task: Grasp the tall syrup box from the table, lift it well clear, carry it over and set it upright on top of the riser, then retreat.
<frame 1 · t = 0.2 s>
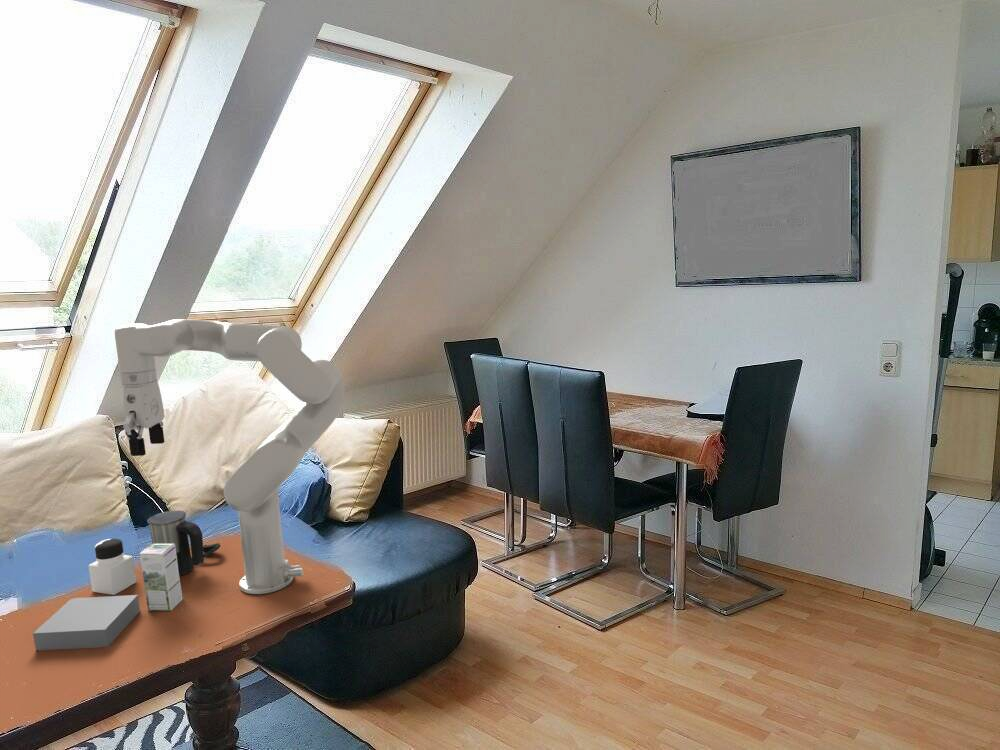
hand: (148, 449, 173), 36 cm above the table, tool pointing down, fingers open, 9 cm apart
medicine bottle: (115, 587, 182), on the table
milk frother: (189, 565, 193), on the table
riser: (90, 629, 162), on the table
syrup box: (165, 606, 172), on the table
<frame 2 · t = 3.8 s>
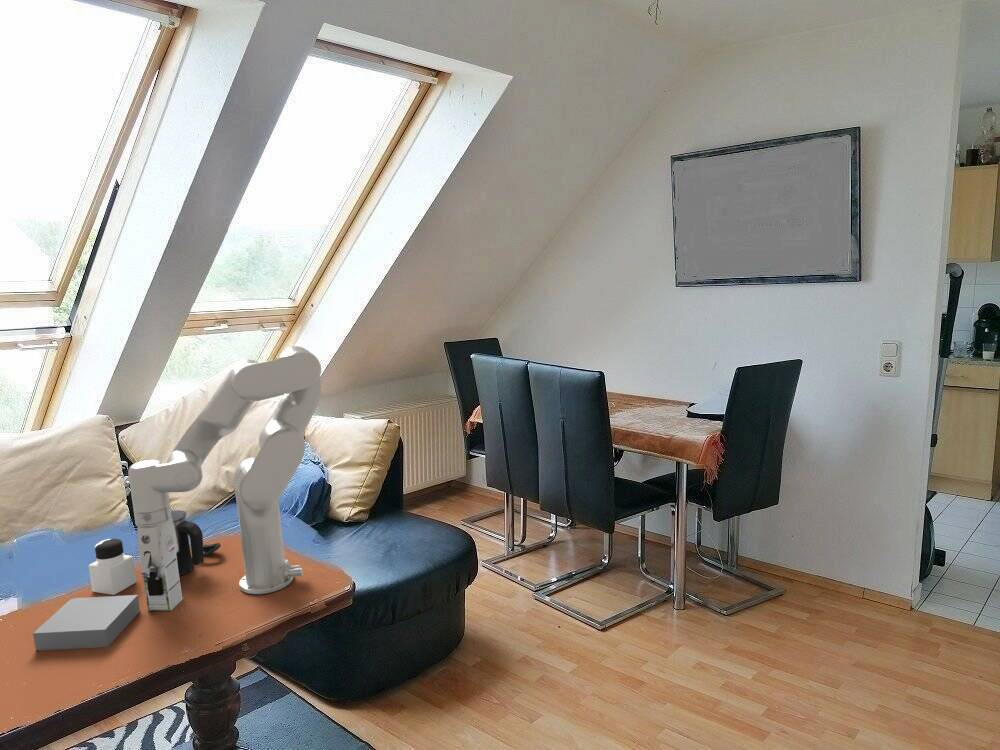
hand: (163, 587, 171), 5 cm above the table, tool pointing down, fingers closed on syrup box, 6 cm apart
syrup box: (165, 606, 172), on the table, touching gripper
everything else where it was.
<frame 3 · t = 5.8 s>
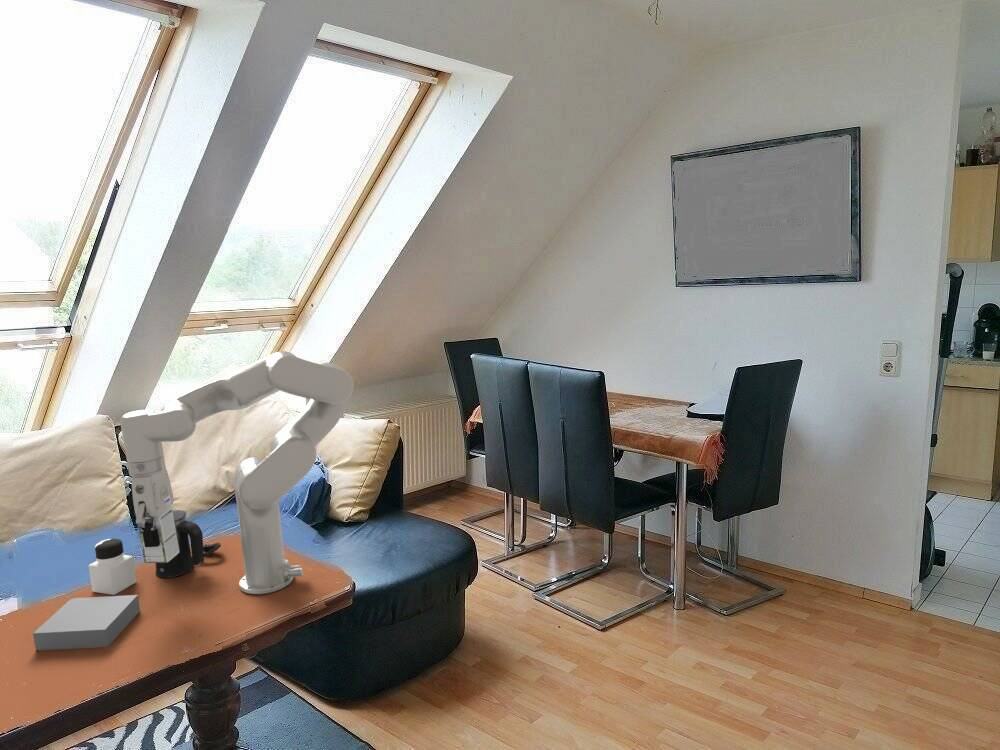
hand: (159, 539, 169), 16 cm above the table, tool pointing down, fingers closed on syrup box, 6 cm apart
syrup box: (162, 558, 170), point 11 cm above the table, touching gripper
everything else where it was.
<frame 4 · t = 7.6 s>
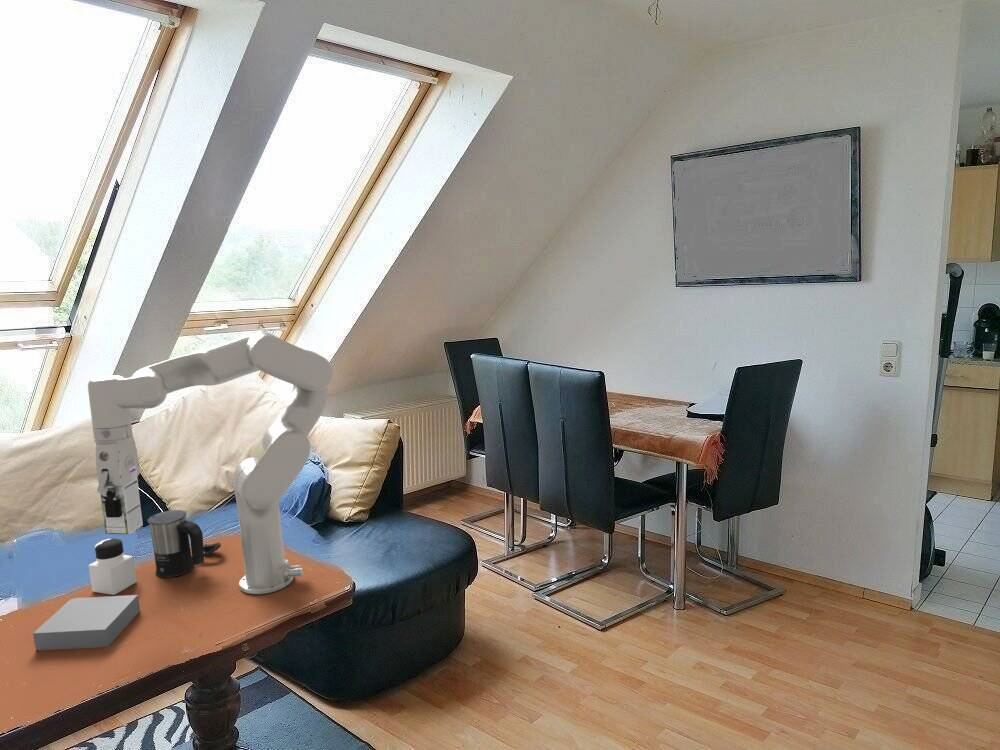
hand: (122, 510, 163), 25 cm above the table, tool pointing down, fingers closed on syrup box, 6 cm apart
syrup box: (124, 531, 164), point 20 cm above the table, touching gripper
everything else where it was.
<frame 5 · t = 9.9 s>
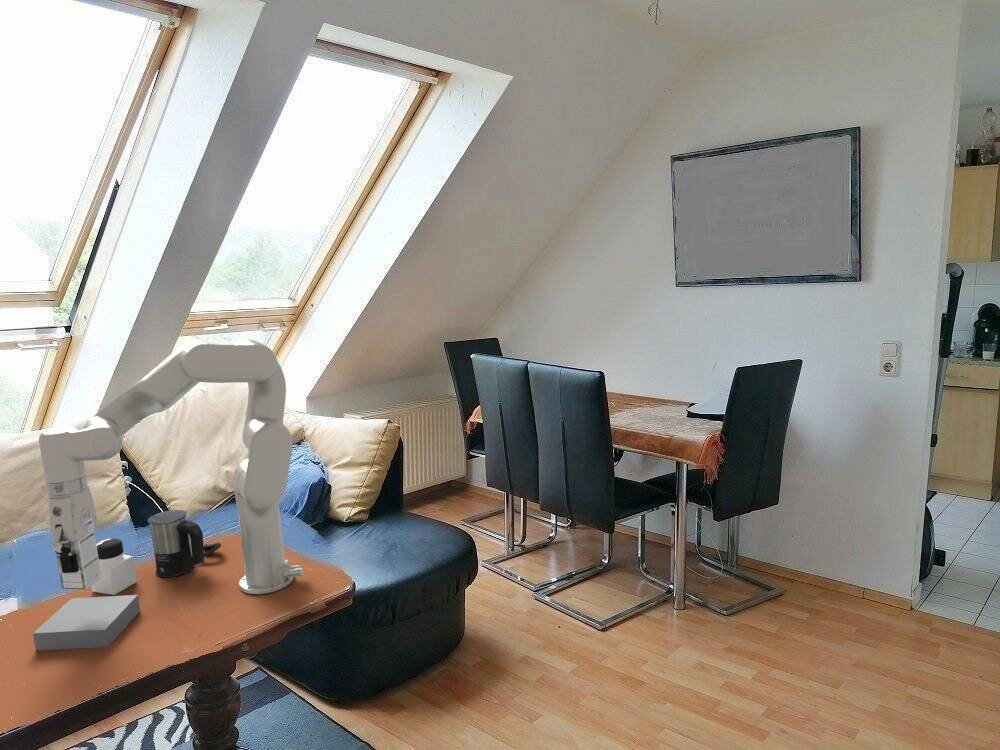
hand: (79, 564, 159), 16 cm above the table, tool pointing down, fingers closed on syrup box, 6 cm apart
syrup box: (82, 584, 160), point 11 cm above the table, touching gripper
everything else where it was.
when the fingers open (10 cm above the table, at t = 11.9 s): syrup box drops 1 cm, resting on riser.
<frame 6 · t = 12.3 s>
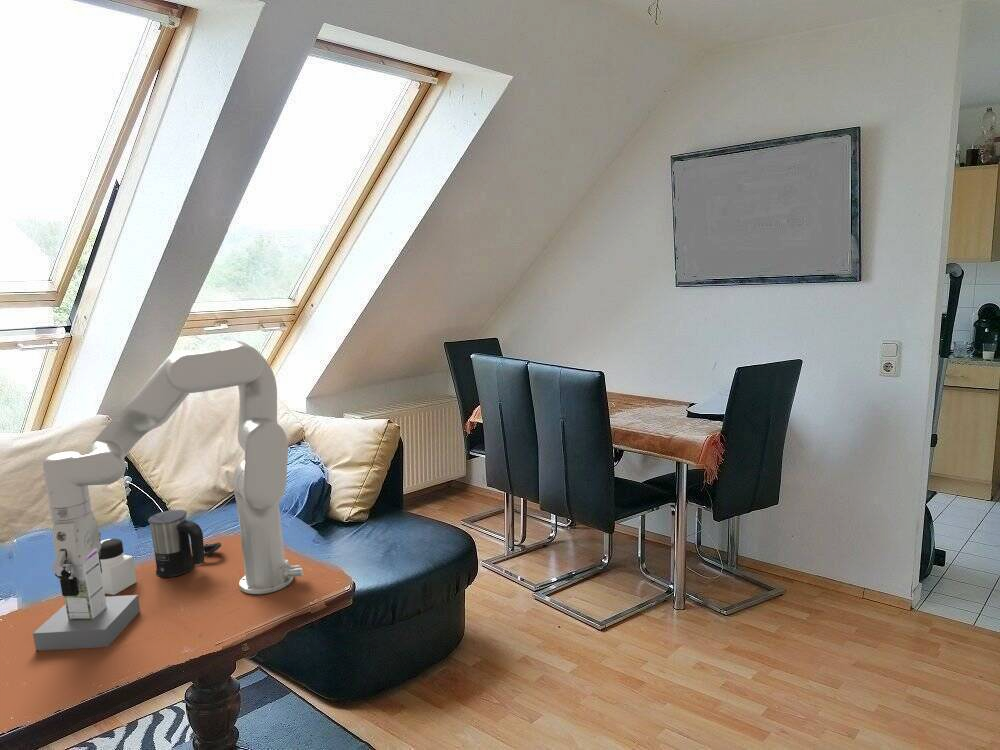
hand: (83, 584, 160), 11 cm above the table, tool pointing down, fingers open, 9 cm apart
syrup box: (87, 614, 161), point 4 cm above the table, touching riser
everything else where it was.
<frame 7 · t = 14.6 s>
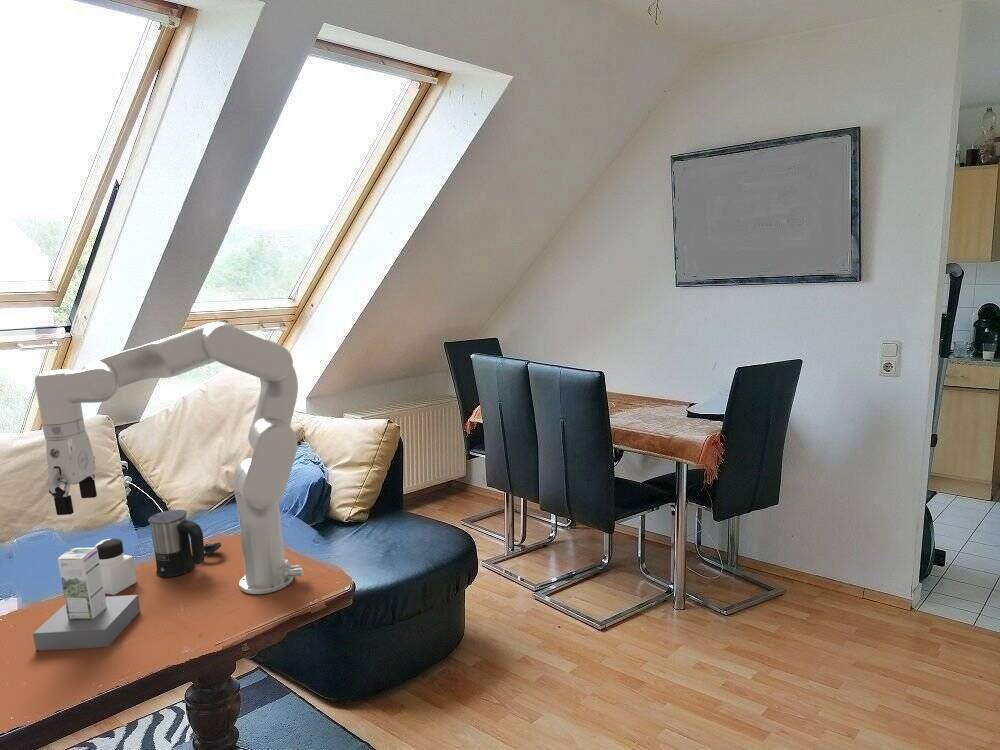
hand: (77, 505, 158), 28 cm above the table, tool pointing down, fingers open, 9 cm apart
nothing on the table moved.
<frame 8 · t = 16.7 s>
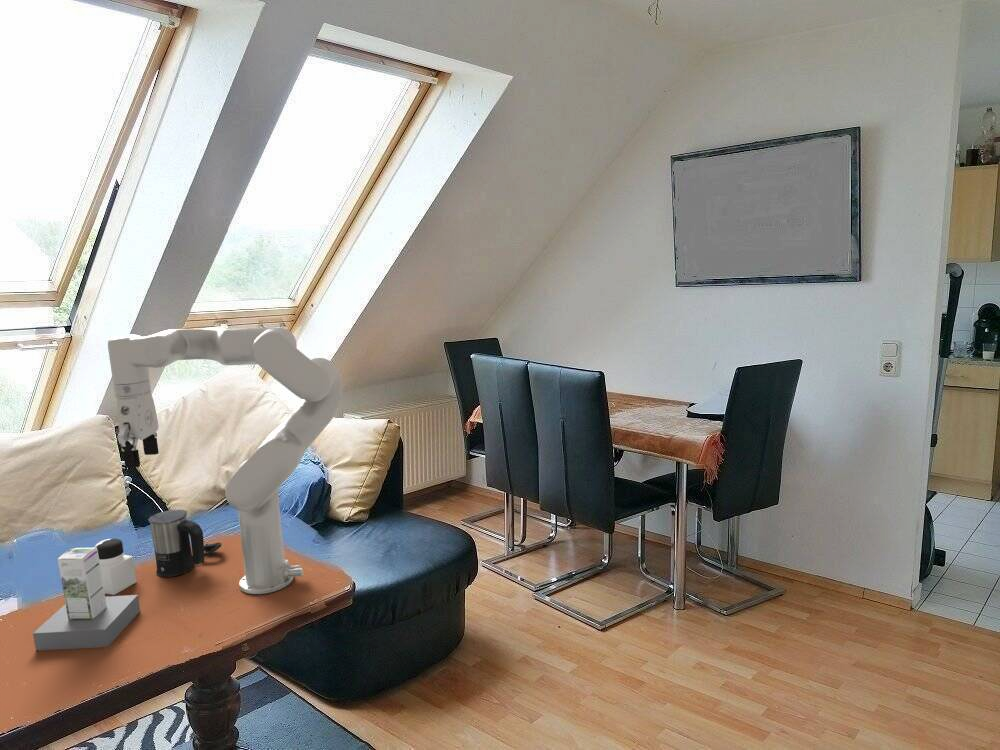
hand: (142, 460, 172), 33 cm above the table, tool pointing down, fingers open, 9 cm apart
nothing on the table moved.
at the end: syrup box inside the target area on the riser (0.3 cm from its centre), point 3.8 cm above the riser's base; syrup box tilted 0°; the gripper is holding nothing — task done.
